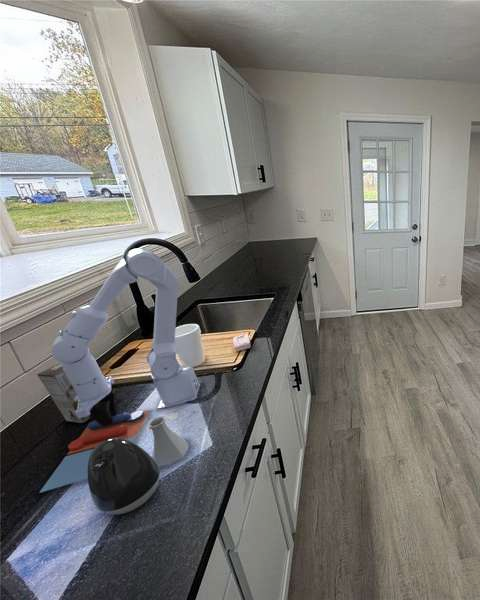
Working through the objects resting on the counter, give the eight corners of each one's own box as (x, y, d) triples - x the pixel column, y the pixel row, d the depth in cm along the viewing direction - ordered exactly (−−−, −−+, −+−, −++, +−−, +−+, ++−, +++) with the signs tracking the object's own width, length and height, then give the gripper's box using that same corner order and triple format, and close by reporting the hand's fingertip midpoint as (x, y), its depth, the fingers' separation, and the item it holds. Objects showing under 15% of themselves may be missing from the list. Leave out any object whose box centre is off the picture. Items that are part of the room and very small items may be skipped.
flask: (149, 473, 69) (132, 439, 65) (156, 449, 75) (140, 417, 71) (187, 459, 72) (173, 425, 68) (190, 437, 78) (177, 406, 74)
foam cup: (199, 369, 106) (187, 336, 101) (173, 371, 107) (159, 337, 102) (215, 354, 115) (204, 323, 110) (190, 355, 115) (179, 324, 110)
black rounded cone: (93, 535, 57) (53, 476, 52) (114, 487, 66) (82, 433, 61) (158, 510, 61) (128, 453, 55) (170, 468, 70) (145, 415, 64)
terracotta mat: (149, 411, 88) (149, 410, 88) (137, 436, 80) (136, 435, 79) (88, 427, 84) (87, 426, 84) (67, 456, 75) (66, 454, 75)
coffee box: (100, 399, 94) (76, 354, 88) (117, 401, 93) (94, 355, 87) (65, 422, 86) (35, 373, 80) (83, 424, 85) (54, 375, 79)
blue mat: (136, 438, 79) (135, 436, 79) (120, 469, 70) (119, 468, 70) (66, 457, 75) (65, 456, 74) (39, 494, 66) (38, 492, 66)
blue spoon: (86, 434, 81) (83, 428, 80) (93, 425, 84) (89, 418, 83) (141, 420, 84) (138, 413, 84) (146, 411, 88) (143, 405, 87)
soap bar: (235, 352, 115) (233, 346, 114) (234, 342, 123) (232, 336, 122) (251, 348, 117) (249, 342, 117) (249, 338, 125) (247, 332, 124)
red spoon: (131, 427, 82) (127, 420, 81) (125, 436, 79) (122, 430, 78) (74, 442, 78) (70, 435, 78) (66, 453, 75) (61, 446, 74)
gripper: (82, 367, 83) (103, 407, 88) (49, 401, 71) (76, 445, 76) (114, 360, 85) (133, 400, 91) (87, 392, 73) (112, 436, 78)
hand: (109, 420), depth 83 cm, fingers closed on blue spoon, 2 cm apart
